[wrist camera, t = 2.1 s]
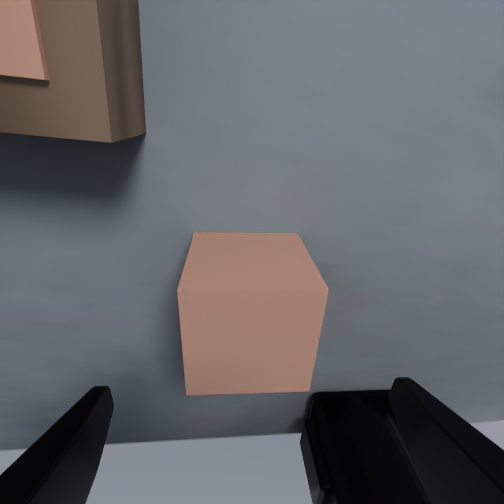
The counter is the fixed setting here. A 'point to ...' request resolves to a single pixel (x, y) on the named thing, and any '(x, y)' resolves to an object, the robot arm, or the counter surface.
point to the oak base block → (71, 69)
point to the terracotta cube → (249, 313)
